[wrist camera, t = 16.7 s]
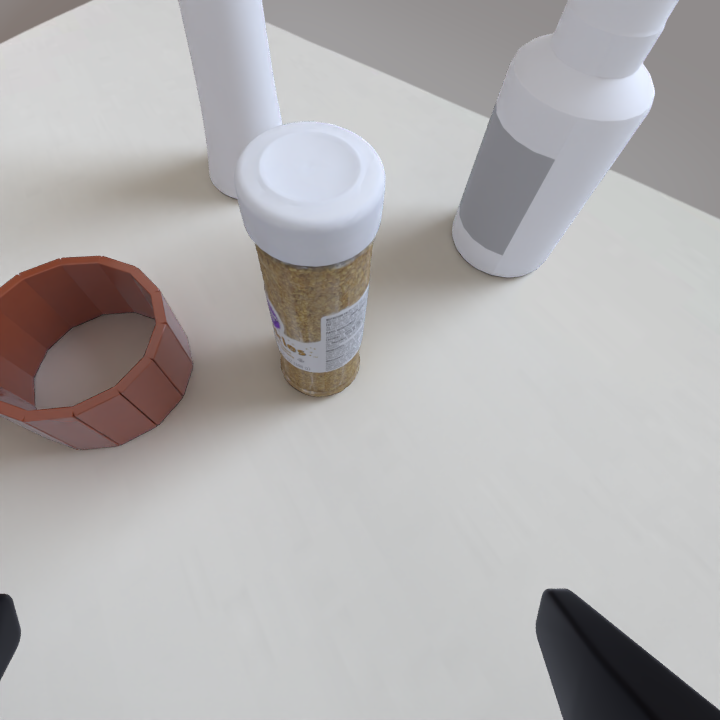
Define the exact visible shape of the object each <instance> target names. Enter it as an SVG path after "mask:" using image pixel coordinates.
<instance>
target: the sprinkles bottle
mask: <svg viewBox="0 0 720 720" xmlns="http://www.w3.org/2000/svg"><path fill="white" fill-rule="evenodd" d="M234 183H235V189H236V194H237V198H238V203H239V208H240V212H241V215H242V219H243V223H244V226H245V228H246V231H247V232H248V234H249V236H250V238H251V239H252V240H253V241H254V242H255V246H256V250H257V253H258V258H259V262H260V267H261V271H262V275H263V280H264V283H265V284H264V289H265V293H266V298H267V302H268V306H269V310H270V314H271V319H272V323H273V328H274V333H275V338H276V342H277V345H278V348H279V350H280V355H281V359H280V361H281V369H282V372H283V374H284V376H285V379H286V380H287V381H288V382H289V383H290V385H291V386H292V387H294V388H295V389H297V390H299V391H300V392H302V393H304V394H306V395H312V396H317V397H319V396H328V395H333V394H336V393H339V392H341V391H342V390H344V389H345V388H346V387H347V386H349V385H350V384H351V382H352V381H353V380H354V379H355V377H356V375H357V373H358V370H359V362H360V356H359V348H360V345H361V341H362V336H363V329H364V321H365V313H366V306H367V298H368V291H369V283H370V261H371V256H372V246H373V241H374V239H375V235H376V233H377V231H378V229H379V226H380V223H381V217H382V210H383V202H384V192H385V171H384V167H383V164H382V161H381V159H380V157H379V155H378V154H377V152H376V151H375V150H374V149H373V147H372V146H371V145H370V144H369V143H368V142H367V141H365V140H364V139H363V138H362V137H360V136H359V135H357V134H355V133H354V132H352V131H350V130H347V129H345V128H342V127H339V126H337V125H333V124H328V123H322V122H314V121H304V122H294V123H288V124H284V125H280V126H277V127H274V128H272V129H269V130H267V131H265V132H263V133H262V134H260V135H258V136H257V137H256V138H255V139H253V140H252V141H251V142H250V143H249V144H248V145H247V146H246V147H245V148H244V149H243V151H242V152H241V154H240V156H239V158H238V160H237V163H236V167H235V172H234Z"/></svg>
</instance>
